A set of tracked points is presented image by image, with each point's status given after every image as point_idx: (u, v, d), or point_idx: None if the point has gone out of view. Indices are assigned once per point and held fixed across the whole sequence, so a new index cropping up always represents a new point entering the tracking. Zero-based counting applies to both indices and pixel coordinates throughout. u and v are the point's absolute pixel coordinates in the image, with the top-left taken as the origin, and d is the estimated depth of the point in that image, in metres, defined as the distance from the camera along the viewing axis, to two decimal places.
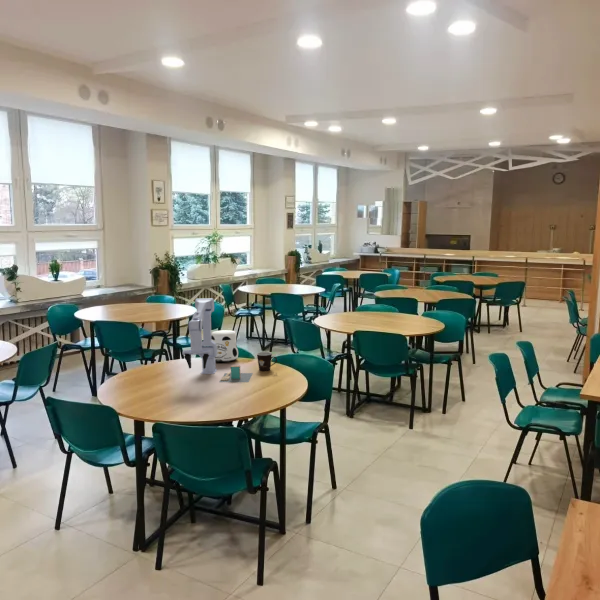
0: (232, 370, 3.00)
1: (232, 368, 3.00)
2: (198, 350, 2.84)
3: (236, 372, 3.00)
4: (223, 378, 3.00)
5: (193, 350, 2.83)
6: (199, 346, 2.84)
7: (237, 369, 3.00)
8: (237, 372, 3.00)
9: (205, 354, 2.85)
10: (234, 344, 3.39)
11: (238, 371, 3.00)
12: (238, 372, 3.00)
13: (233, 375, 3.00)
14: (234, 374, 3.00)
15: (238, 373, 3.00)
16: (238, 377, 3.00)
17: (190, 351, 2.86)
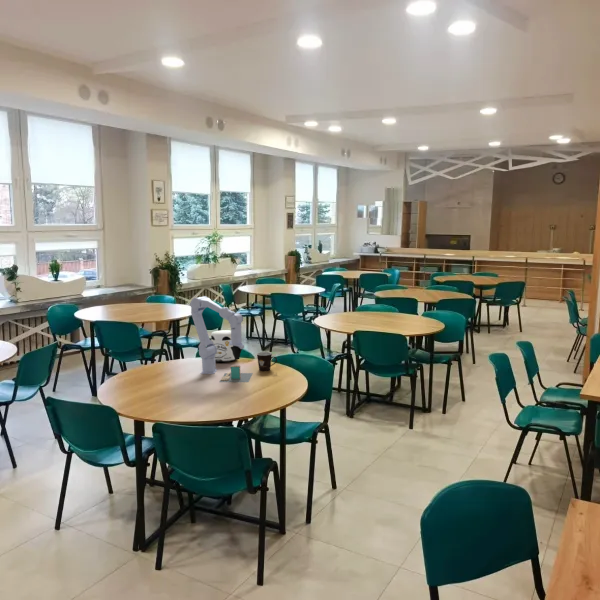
0: (232, 370, 3.00)
1: (232, 368, 3.00)
2: (234, 342, 3.02)
3: (236, 372, 3.00)
4: (223, 378, 3.00)
5: (231, 341, 3.04)
6: (235, 339, 3.02)
7: (237, 369, 3.00)
8: (237, 372, 3.00)
9: (236, 346, 3.03)
10: None
11: (238, 371, 3.00)
12: (238, 372, 3.00)
13: (233, 375, 3.00)
14: (234, 374, 3.00)
15: (238, 373, 3.00)
16: (238, 377, 3.00)
17: None
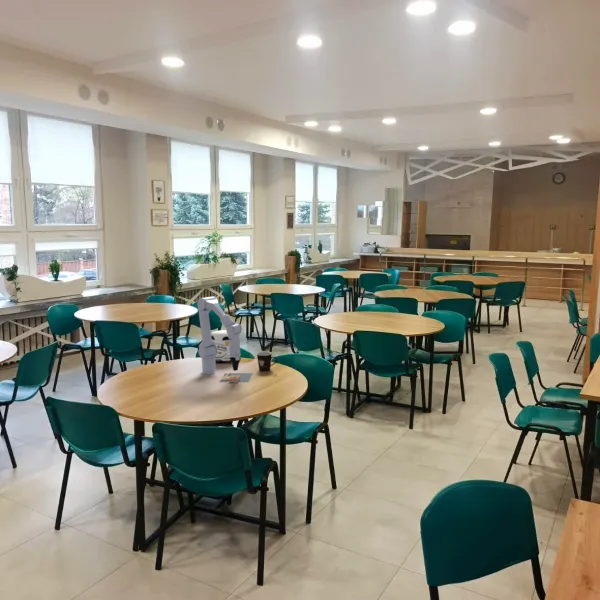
0: None
1: None
2: (231, 353, 2.97)
3: None
4: (223, 378, 3.00)
5: None
6: (232, 350, 2.96)
7: None
8: None
9: (233, 357, 2.98)
10: None
11: None
12: None
13: None
14: None
15: None
16: None
17: None
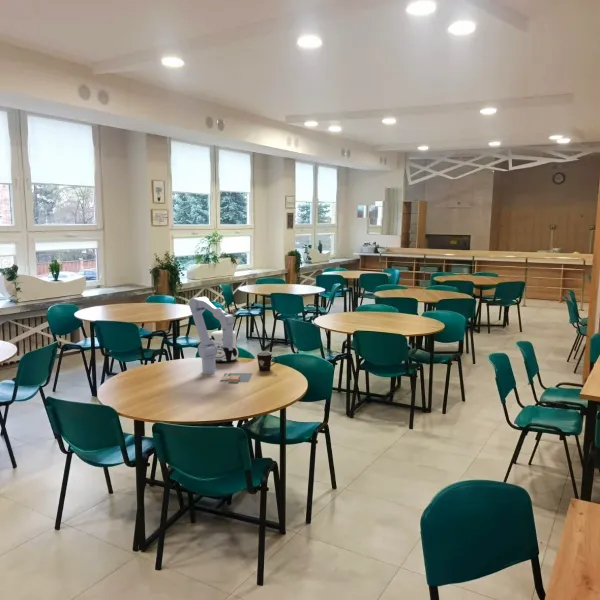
0: None
1: None
2: (224, 343, 3.00)
3: None
4: (223, 378, 3.00)
5: None
6: (225, 340, 2.99)
7: None
8: None
9: (227, 347, 3.01)
10: (234, 344, 3.39)
11: None
12: None
13: None
14: None
15: None
16: None
17: None
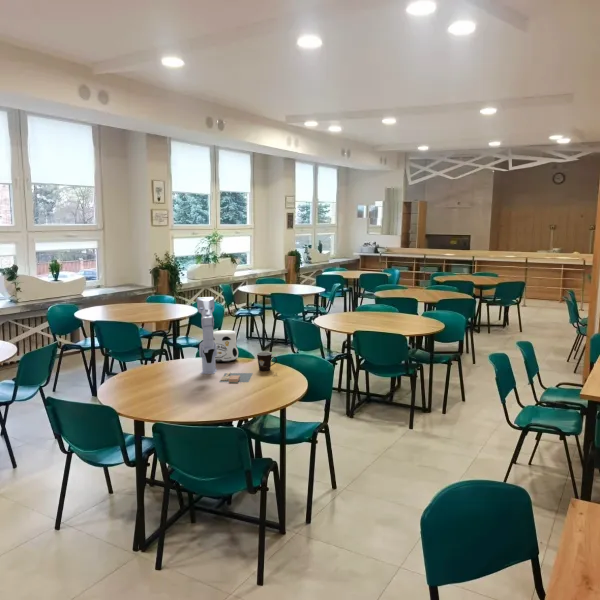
0: None
1: None
2: (203, 345, 2.96)
3: None
4: (223, 378, 3.00)
5: None
6: (204, 342, 2.95)
7: None
8: None
9: None
10: (234, 344, 3.39)
11: None
12: None
13: None
14: None
15: None
16: None
17: None
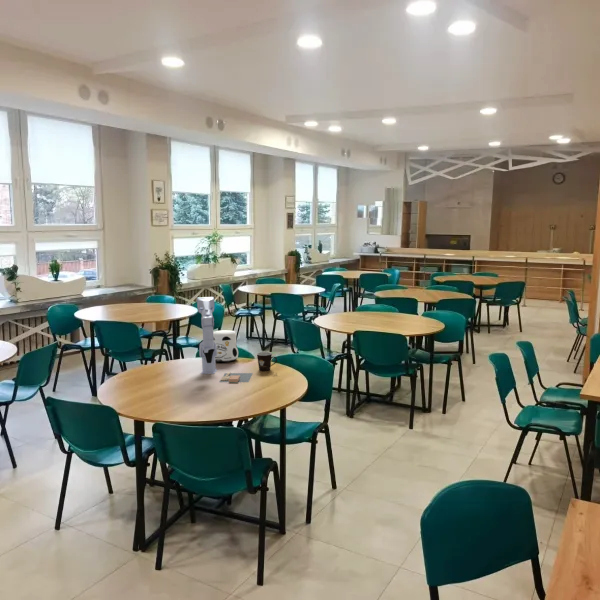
0: None
1: None
2: (203, 345, 2.96)
3: None
4: (223, 378, 3.00)
5: None
6: (204, 342, 2.95)
7: None
8: None
9: None
10: (234, 344, 3.39)
11: None
12: None
13: None
14: None
15: None
16: None
17: None
